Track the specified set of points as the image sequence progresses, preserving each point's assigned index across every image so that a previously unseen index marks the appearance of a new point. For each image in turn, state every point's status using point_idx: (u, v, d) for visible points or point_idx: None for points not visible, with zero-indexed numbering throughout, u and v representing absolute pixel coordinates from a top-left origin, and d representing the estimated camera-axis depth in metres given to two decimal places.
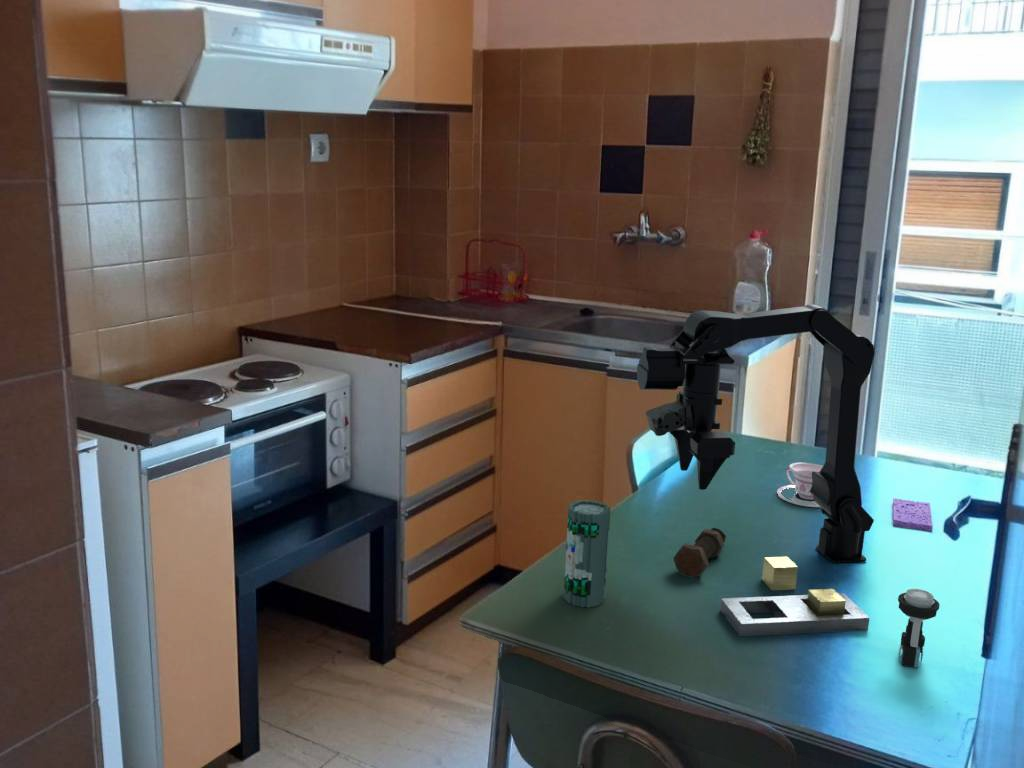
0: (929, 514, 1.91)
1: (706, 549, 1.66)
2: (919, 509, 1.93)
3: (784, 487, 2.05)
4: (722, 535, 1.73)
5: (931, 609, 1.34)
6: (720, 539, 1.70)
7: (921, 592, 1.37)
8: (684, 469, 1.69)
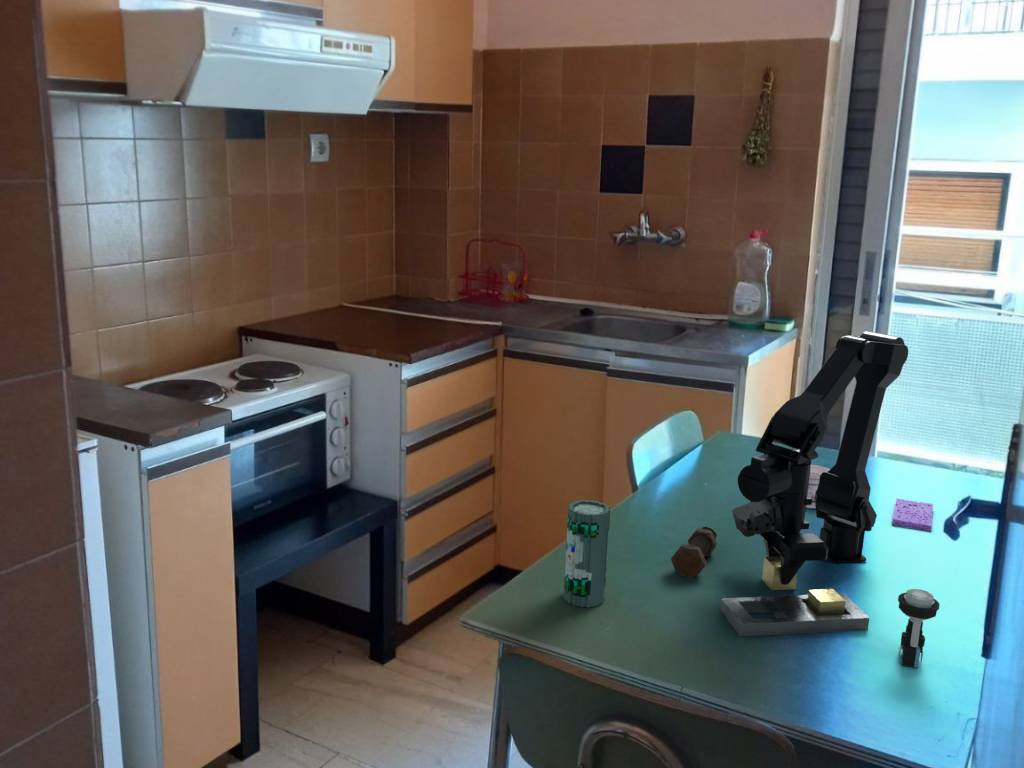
0: (930, 514, 1.91)
1: (702, 548, 1.66)
2: (921, 509, 1.93)
3: None
4: (713, 534, 1.73)
5: (931, 609, 1.34)
6: (713, 538, 1.70)
7: (921, 592, 1.37)
8: None
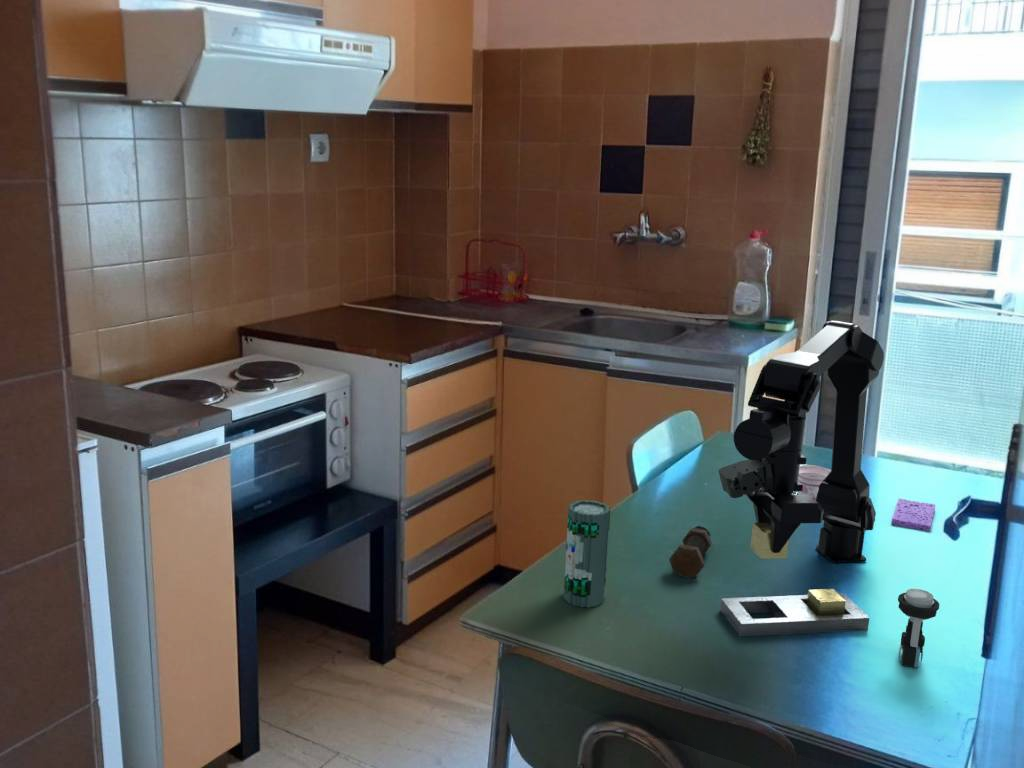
0: (931, 515, 1.90)
1: (699, 548, 1.66)
2: (922, 510, 1.93)
3: None
4: (707, 533, 1.74)
5: (931, 609, 1.34)
6: (708, 537, 1.71)
7: (921, 592, 1.37)
8: None
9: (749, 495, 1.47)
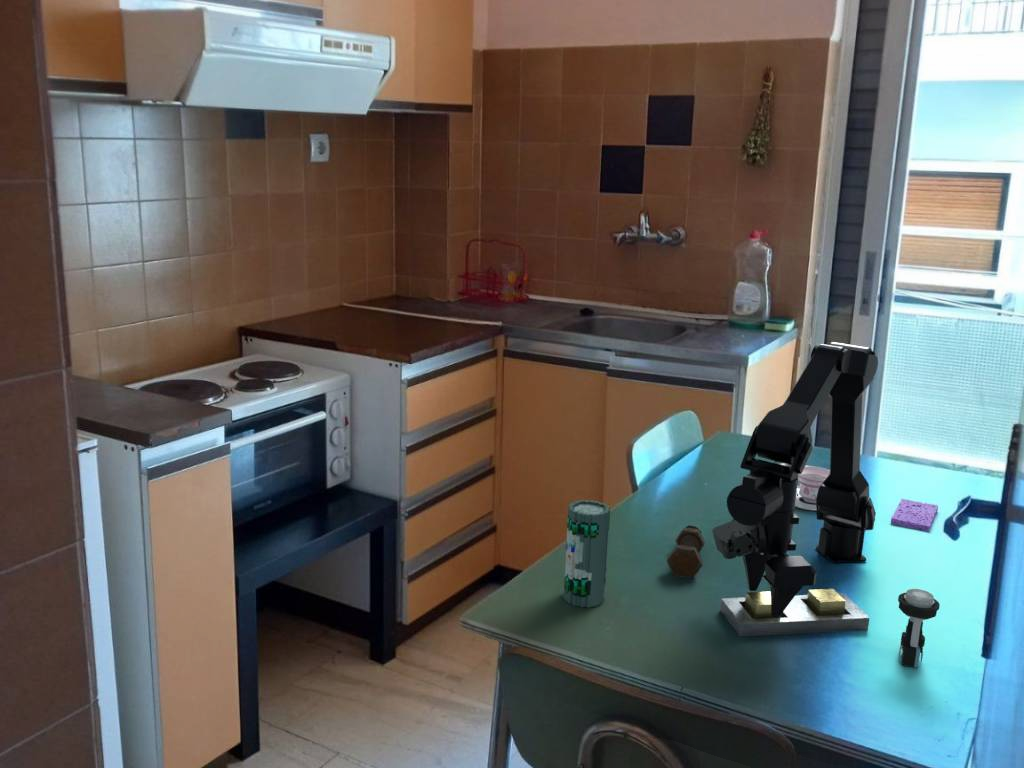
0: (932, 515, 1.90)
1: None
2: (923, 510, 1.93)
3: None
4: (699, 532, 1.74)
5: (931, 609, 1.34)
6: (701, 536, 1.71)
7: (921, 592, 1.37)
8: (753, 589, 1.51)
9: None
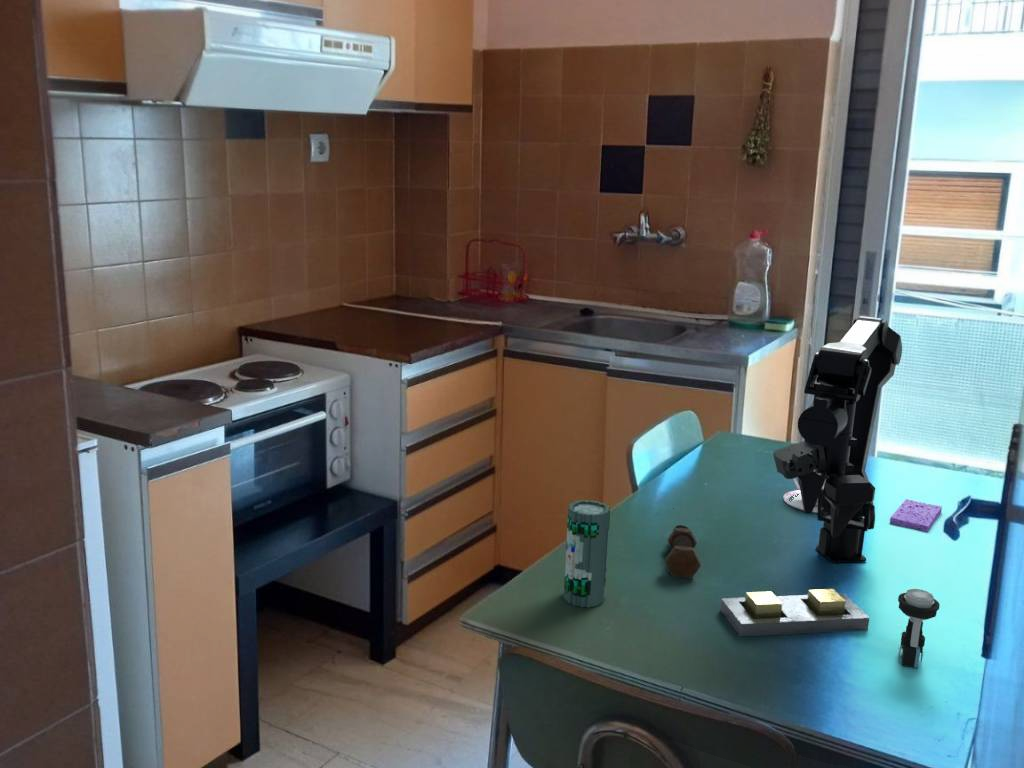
0: (933, 516, 1.90)
1: None
2: (926, 511, 1.92)
3: (791, 492, 2.02)
4: None
5: (931, 609, 1.34)
6: (693, 536, 1.71)
7: (921, 592, 1.37)
8: (808, 512, 1.59)
9: None
